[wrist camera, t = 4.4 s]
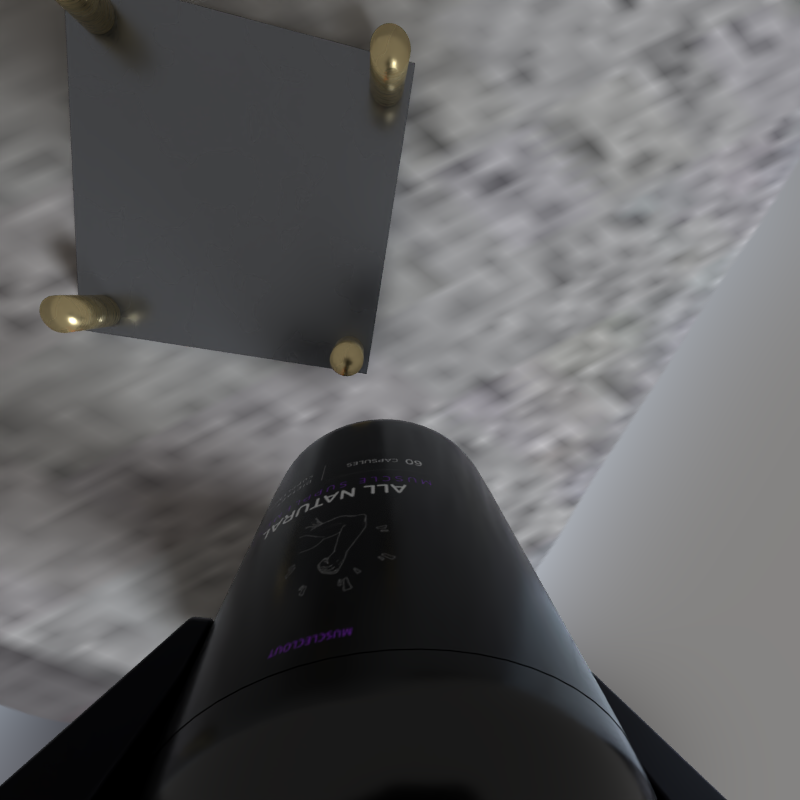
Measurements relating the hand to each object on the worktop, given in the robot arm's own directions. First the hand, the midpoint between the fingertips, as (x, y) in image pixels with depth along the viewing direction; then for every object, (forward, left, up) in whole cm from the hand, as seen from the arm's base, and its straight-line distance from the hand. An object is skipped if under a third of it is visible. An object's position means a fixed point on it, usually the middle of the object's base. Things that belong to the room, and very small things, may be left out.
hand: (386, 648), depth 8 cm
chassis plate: (+9, +7, -13) cm, 18 cm away
